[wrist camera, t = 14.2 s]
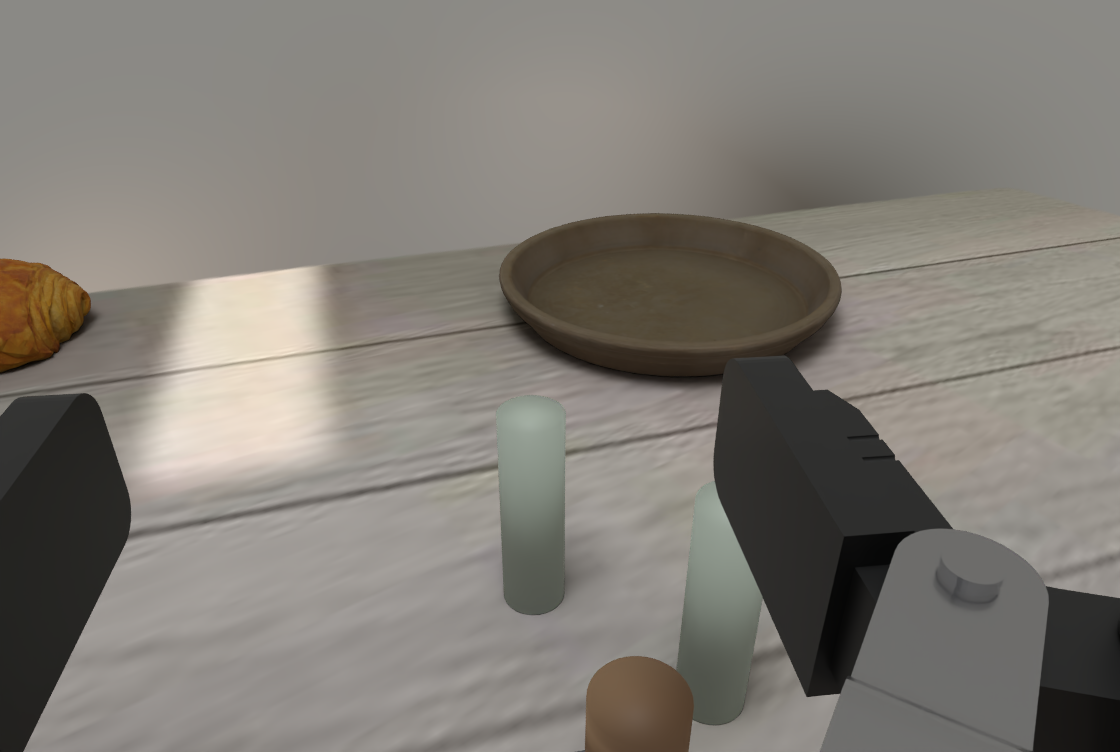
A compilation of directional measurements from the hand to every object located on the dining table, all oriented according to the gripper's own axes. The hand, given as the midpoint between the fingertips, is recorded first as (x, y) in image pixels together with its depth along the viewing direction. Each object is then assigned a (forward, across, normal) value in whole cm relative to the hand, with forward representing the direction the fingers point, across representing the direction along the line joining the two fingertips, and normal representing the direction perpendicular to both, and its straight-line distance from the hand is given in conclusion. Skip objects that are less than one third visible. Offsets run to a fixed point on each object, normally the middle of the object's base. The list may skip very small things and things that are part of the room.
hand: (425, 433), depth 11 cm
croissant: (+59, +41, +28) cm, 78 cm away
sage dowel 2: (+17, -11, +28) cm, 35 cm away
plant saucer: (+60, -19, +28) cm, 69 cm away
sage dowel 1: (+25, -3, +28) cm, 38 cm away
